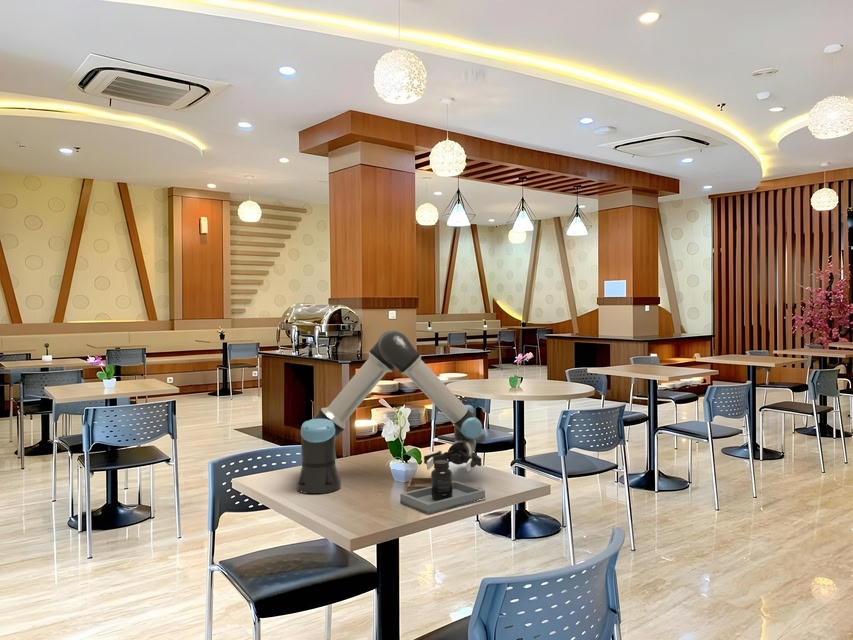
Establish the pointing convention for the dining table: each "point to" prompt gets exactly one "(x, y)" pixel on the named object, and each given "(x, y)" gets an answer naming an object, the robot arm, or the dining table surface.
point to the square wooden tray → (417, 480)
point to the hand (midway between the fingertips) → (447, 466)
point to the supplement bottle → (441, 481)
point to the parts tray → (427, 505)
